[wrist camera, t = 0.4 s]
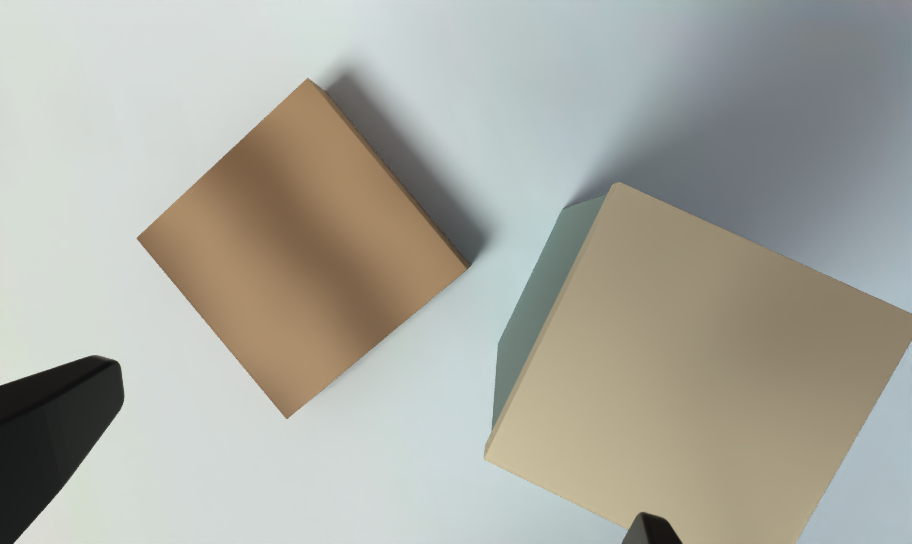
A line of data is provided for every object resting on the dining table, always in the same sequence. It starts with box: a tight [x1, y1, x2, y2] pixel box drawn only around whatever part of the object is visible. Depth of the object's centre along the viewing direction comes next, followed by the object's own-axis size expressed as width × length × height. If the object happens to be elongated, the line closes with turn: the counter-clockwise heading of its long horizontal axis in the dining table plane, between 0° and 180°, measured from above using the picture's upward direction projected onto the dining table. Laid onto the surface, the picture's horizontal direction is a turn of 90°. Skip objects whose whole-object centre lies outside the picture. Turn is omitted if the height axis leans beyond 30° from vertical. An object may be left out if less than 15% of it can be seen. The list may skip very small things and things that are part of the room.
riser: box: [137, 78, 470, 419], centre depth 24 cm, size 10×10×2 cm
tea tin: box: [484, 182, 912, 544], centre depth 17 cm, size 7×7×12 cm
